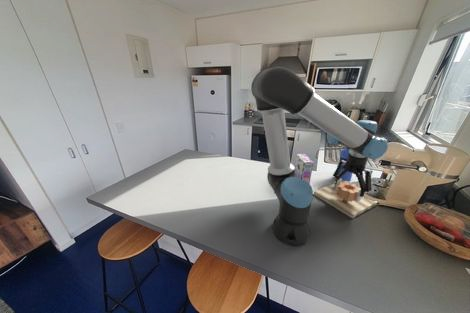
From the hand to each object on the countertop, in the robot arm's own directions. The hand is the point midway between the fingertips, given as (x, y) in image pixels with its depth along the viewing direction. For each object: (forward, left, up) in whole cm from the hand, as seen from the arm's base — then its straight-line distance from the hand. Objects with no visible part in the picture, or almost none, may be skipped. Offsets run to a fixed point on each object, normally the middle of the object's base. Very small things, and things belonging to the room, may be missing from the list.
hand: (346, 195), depth 89 cm
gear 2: (0, 0, 0) cm, 0 cm away
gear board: (+6, +3, -6) cm, 9 cm away
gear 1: (+9, +7, -4) cm, 12 cm away
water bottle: (+25, +17, -6) cm, 31 cm away
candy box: (-1, +28, -6) cm, 29 cm away
